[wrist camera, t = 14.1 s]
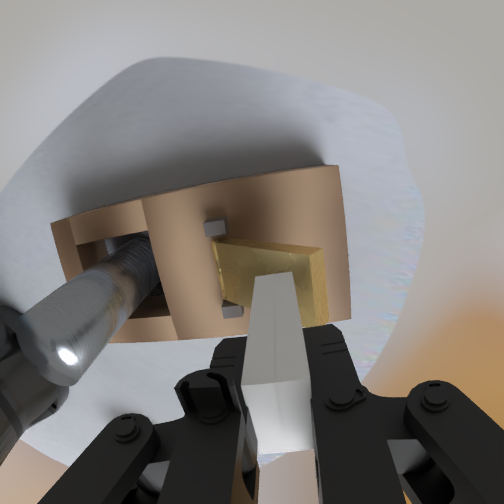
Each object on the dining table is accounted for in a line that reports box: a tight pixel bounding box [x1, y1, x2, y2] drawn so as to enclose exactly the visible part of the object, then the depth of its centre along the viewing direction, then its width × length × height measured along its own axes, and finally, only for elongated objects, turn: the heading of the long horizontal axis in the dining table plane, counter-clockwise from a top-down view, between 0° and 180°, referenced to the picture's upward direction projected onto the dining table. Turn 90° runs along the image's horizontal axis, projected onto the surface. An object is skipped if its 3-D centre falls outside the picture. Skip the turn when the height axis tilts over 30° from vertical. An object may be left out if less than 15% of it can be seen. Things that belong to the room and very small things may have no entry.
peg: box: [16, 238, 160, 386], centre depth 17 cm, size 4×4×13 cm
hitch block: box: [50, 165, 351, 343], centre depth 20 cm, size 20×10×5 cm, turn 99°
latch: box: [211, 237, 329, 328], centre depth 16 cm, size 7×4×1 cm
